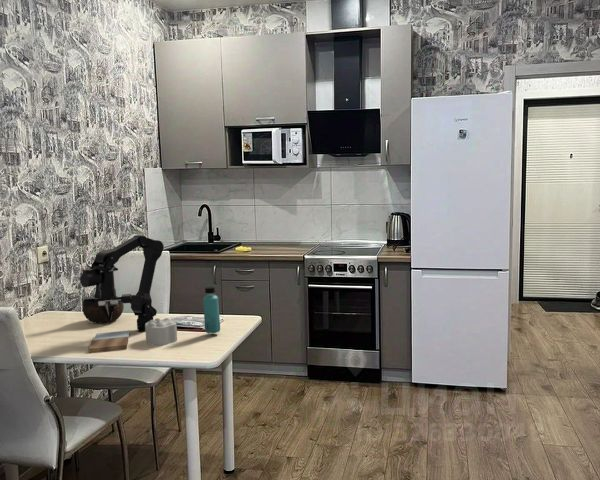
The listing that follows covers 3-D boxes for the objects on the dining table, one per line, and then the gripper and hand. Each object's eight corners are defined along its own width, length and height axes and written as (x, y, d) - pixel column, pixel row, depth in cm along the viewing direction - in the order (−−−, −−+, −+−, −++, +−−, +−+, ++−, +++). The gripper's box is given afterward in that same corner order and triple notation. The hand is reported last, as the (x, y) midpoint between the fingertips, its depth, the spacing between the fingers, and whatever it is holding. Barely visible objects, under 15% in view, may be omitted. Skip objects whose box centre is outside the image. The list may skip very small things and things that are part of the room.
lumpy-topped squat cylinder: (159, 346, 225) (158, 325, 224) (139, 341, 233) (138, 320, 232) (180, 340, 233) (179, 319, 232) (160, 335, 241) (159, 315, 240)
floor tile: (129, 333, 245) (128, 330, 245) (127, 340, 235) (127, 336, 235) (96, 336, 242) (96, 333, 242) (94, 343, 233) (93, 339, 232)
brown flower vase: (82, 320, 272) (77, 261, 269) (121, 315, 280) (117, 257, 277) (85, 328, 256) (80, 266, 253) (127, 323, 264) (122, 262, 261)
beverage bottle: (223, 333, 241) (221, 285, 238) (214, 337, 235) (212, 289, 232) (210, 332, 243) (207, 285, 241) (201, 336, 237) (198, 288, 235)
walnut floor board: (128, 340, 235) (128, 336, 235) (126, 349, 223) (126, 345, 223) (93, 344, 232) (92, 340, 232) (89, 352, 220) (89, 348, 220)
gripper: (132, 278, 244) (134, 314, 245) (85, 281, 240) (88, 318, 241) (130, 282, 233) (132, 320, 235) (81, 286, 229) (84, 324, 231)
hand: (109, 320), depth 236 cm, fingers closed
